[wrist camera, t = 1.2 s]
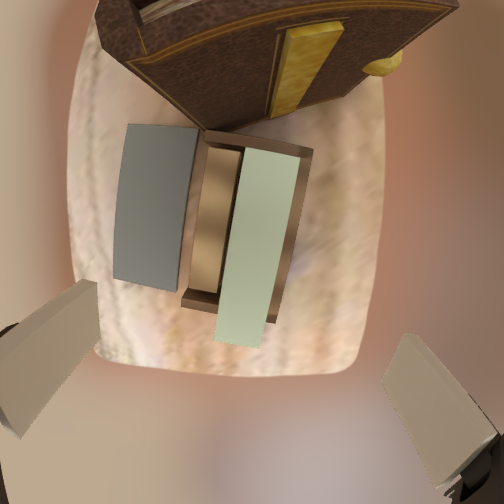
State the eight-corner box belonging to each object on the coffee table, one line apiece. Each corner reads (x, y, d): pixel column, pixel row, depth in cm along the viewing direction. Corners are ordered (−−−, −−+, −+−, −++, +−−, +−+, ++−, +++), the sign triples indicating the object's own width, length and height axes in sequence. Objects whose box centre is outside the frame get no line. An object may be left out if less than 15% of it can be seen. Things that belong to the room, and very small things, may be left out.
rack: (213, 137, 32) (205, 129, 27) (303, 153, 33) (313, 149, 27) (191, 287, 38) (180, 306, 32) (272, 302, 38) (275, 323, 32)
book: (210, 149, 33) (115, 95, 9) (187, 93, 31) (89, -13, 7) (365, 99, 31) (492, 27, 6) (340, 47, 29) (424, -62, 4)
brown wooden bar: (215, 151, 33) (207, 147, 28) (242, 155, 33) (240, 151, 28) (196, 276, 37) (187, 292, 32) (221, 281, 37) (215, 297, 32)
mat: (130, 124, 32) (128, 123, 31) (199, 129, 32) (198, 128, 31) (115, 276, 38) (112, 278, 37) (177, 290, 38) (175, 292, 37)
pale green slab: (249, 160, 33) (245, 147, 19) (281, 166, 33) (300, 157, 19) (228, 279, 37) (213, 340, 23) (257, 284, 38) (259, 348, 23)
